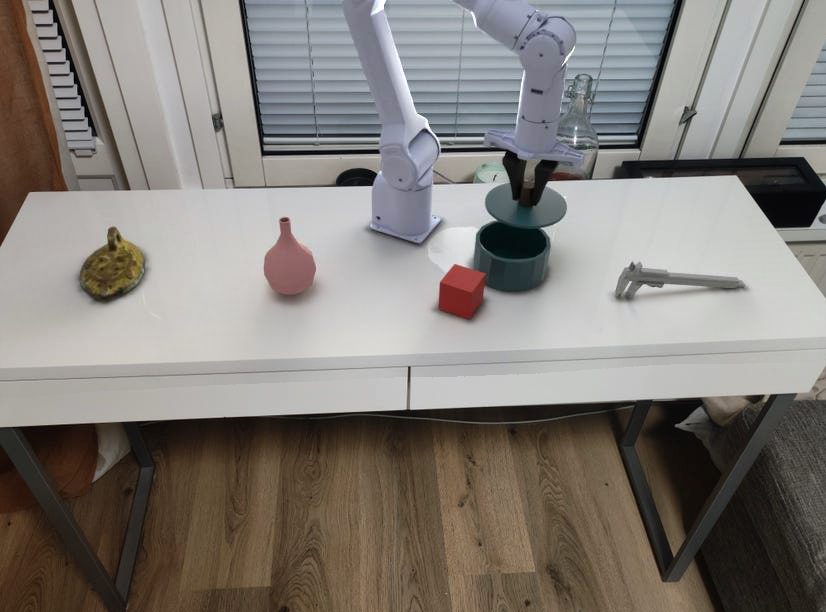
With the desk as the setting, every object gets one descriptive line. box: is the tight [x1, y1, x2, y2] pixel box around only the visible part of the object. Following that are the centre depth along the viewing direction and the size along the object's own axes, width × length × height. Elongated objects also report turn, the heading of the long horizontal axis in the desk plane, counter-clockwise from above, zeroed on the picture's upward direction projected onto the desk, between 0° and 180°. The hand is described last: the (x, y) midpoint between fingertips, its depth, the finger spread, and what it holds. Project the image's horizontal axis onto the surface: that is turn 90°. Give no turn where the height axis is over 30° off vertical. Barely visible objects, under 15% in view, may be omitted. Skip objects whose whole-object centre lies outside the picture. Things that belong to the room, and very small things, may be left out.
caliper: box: [614, 260, 746, 299], centre depth 112 cm, size 20×1×6 cm, turn 99°
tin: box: [472, 220, 552, 293], centre depth 116 cm, size 11×11×6 cm
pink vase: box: [263, 216, 317, 295], centre depth 110 cm, size 8×8×12 cm
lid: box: [484, 179, 568, 229], centre depth 113 cm, size 12×12×4 cm
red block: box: [437, 263, 486, 320], centre depth 110 cm, size 5×5×5 cm
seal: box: [79, 225, 146, 302], centre depth 115 cm, size 9×5×15 cm
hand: (526, 199), depth 113 cm, fingers closed on lid, 2 cm apart
